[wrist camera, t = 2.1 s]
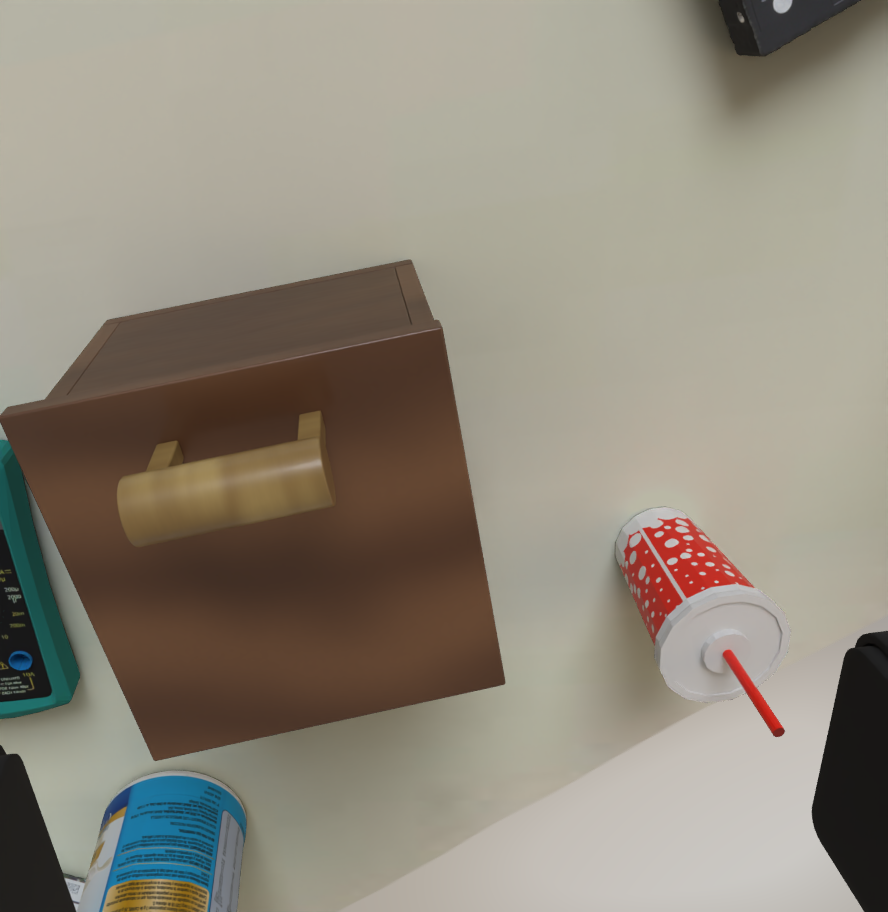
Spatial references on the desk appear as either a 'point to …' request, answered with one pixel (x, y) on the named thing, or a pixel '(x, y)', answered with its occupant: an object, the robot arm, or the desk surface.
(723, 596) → the beverage cup
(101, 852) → the beverage bottle
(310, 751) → the desk surface
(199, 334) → the bin
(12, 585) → the digital multimeter
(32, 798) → the robot arm
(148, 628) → the lid
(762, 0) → the disk drive
